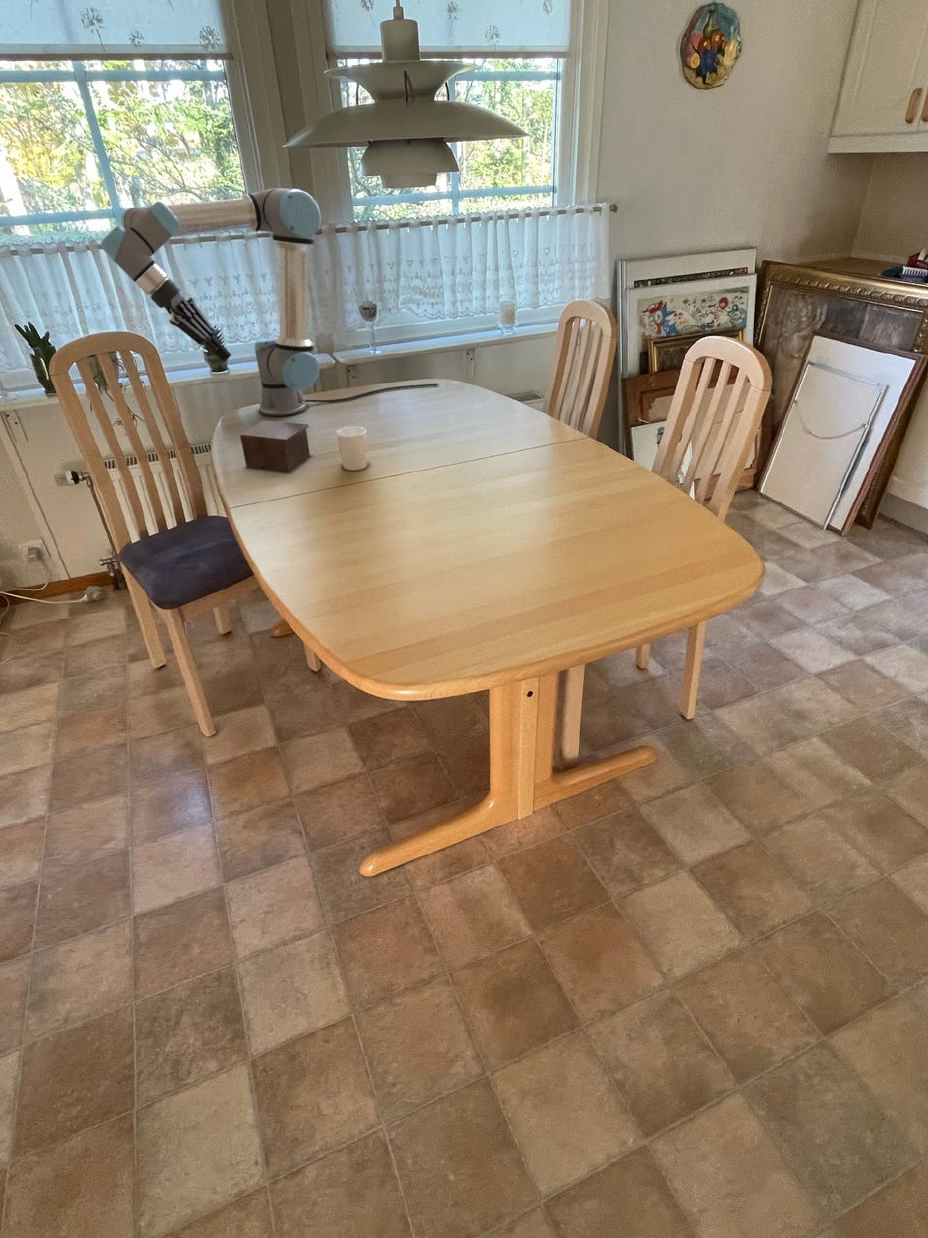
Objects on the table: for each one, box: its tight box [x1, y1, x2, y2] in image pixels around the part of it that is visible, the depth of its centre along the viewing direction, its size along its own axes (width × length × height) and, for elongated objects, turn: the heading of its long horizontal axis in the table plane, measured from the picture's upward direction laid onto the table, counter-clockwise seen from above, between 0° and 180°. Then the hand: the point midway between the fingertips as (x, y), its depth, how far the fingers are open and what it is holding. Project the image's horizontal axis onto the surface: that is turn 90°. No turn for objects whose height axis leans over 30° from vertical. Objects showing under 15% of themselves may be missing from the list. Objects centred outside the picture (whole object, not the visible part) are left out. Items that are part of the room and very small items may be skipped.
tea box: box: [240, 428, 311, 473], centre depth 196 cm, size 13×12×9 cm
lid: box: [239, 419, 309, 442], centre depth 193 cm, size 14×12×1 cm
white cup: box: [336, 425, 368, 471], centre depth 192 cm, size 8×8×10 cm
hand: (227, 358), depth 197 cm, fingers closed
